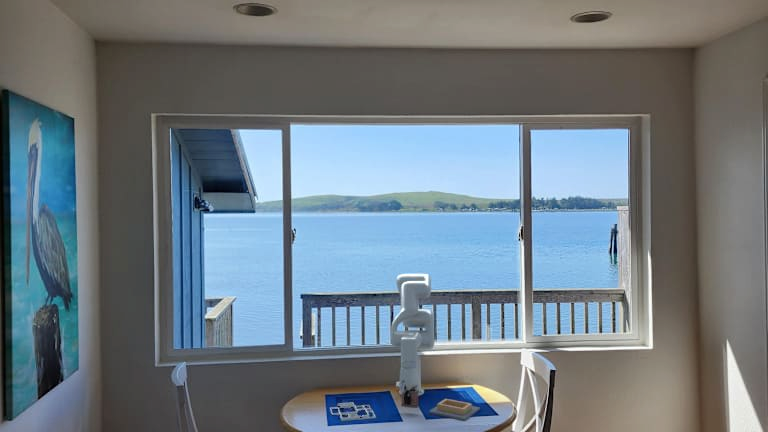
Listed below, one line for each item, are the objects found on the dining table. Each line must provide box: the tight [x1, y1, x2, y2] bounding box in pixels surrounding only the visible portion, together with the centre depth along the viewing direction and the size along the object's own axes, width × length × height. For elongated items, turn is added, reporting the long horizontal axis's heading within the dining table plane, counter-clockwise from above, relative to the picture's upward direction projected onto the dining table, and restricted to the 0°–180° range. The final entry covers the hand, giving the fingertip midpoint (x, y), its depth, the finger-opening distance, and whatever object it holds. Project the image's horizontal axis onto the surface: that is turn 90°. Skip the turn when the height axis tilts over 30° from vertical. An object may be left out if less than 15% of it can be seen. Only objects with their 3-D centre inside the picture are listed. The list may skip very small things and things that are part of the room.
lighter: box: [400, 386, 419, 409], centre depth 268 cm, size 8×3×10 cm, turn 70°
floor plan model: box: [329, 401, 377, 422], centre depth 270 cm, size 19×25×2 cm
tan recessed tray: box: [428, 398, 481, 422], centre depth 269 cm, size 18×16×4 cm
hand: (410, 402), depth 268 cm, fingers closed on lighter, 3 cm apart
